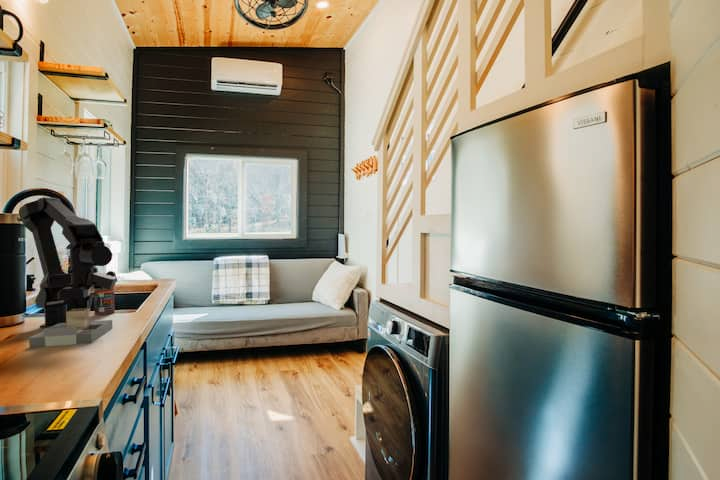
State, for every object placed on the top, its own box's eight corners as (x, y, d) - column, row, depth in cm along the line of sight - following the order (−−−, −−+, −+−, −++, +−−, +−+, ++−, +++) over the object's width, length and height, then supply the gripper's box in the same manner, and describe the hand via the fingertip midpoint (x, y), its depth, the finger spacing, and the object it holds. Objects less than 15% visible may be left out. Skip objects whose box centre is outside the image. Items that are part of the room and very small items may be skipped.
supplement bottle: (105, 315, 144) (104, 282, 143) (90, 315, 145) (89, 282, 144) (118, 312, 149) (117, 280, 149) (104, 311, 151) (102, 279, 150)
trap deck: (58, 331, 123) (58, 316, 123) (112, 328, 126) (111, 313, 126) (29, 347, 107) (28, 330, 107) (91, 343, 110) (90, 326, 110)
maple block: (73, 324, 121) (72, 308, 121) (90, 323, 122) (90, 307, 122) (66, 327, 117) (66, 312, 117) (84, 326, 118) (84, 311, 118)
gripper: (101, 267, 116) (104, 323, 116) (122, 260, 134) (125, 309, 135) (55, 268, 113) (58, 326, 114) (83, 262, 131) (85, 312, 132)
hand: (84, 318), depth 124 cm, fingers closed
